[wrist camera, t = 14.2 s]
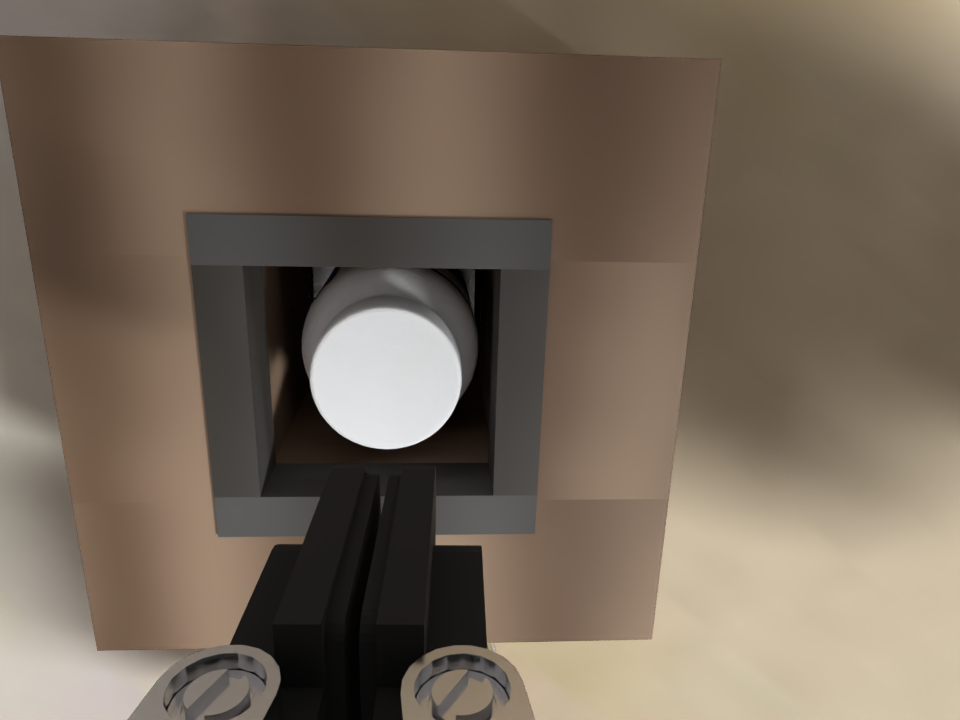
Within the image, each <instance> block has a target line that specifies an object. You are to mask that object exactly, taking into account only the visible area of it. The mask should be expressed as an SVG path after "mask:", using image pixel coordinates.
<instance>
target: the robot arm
mask: <svg viewBox="0 0 960 720" xmlns="http://www.w3.org/2000/svg"><path fill="white" fill-rule="evenodd" d="M128 720H535V717H534V714H533V711H532V708H531V705H530V702H529V699H528V695H527V692H526V689H525V686H524V683H523V680H522V678H521V676H520V675H519V673H518V671H517V669H516V667H514V666H513V665H512V664H511V663H510V662H509V661H508V660H507V659H506V658H505V657H503V656H501V655H499V654H497V653H495V652H493V651H491V650H489V649H487V635H486V616H485V597H484V578H483V559H482V546H481V545H436V466H403V467H402V473H401V475H389V479H388V484H387V488H386V493H385V498H384V503H383V508H382V513H381V487H380V475H375V474H368V468H367V466H354V465H333V466H332V468H331V470H330V473H329V475H328V478H327V481H326V483H325V486H324V489H323V491H322V494H321V497H320V499H319V502H318V505H317V507H316V510H315V512H314V515H313V518H312V520H311V523H310V526H309V528H308V531H307V534H306V536H305V539H304V542H303V544H277V545H275V546H274V547H273V549H272V551H271V553H270V555H269V557H268V559H267V562H266V564H265V566H264V568H263V571H262V573H261V575H260V577H259V580H258V582H257V584H256V586H255V589H254V591H253V593H252V595H251V598H250V600H249V602H248V604H247V607H246V609H245V611H244V613H243V616H242V618H241V620H240V622H239V624H238V627H237V629H236V631H235V633H234V636H233V638H232V640H231V642H230V645H222V646H217V647H212V648H207V649H204V650H202V651H199V652H197V653H194V654H192V655H189V656H187V657H185V658H184V659H182V660H181V661H179V662H177V663H176V664H174V665H173V666H171V667H170V668H169V669H168V670H167V671H166V672H165V673H164V674H163V675H162V676H161V677H160V678H159V679H158V680H157V681H156V683H155V684H154V685H153V687H152V688H151V689H150V691H149V692H148V693H147V694H146V696H145V697H144V698H143V700H142V701H141V702H140V704H139V705H138V706H137V708H136V709H135V710H134V712H133V713H132V714H131V716H130V717H129V718H128Z"/></svg>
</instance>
